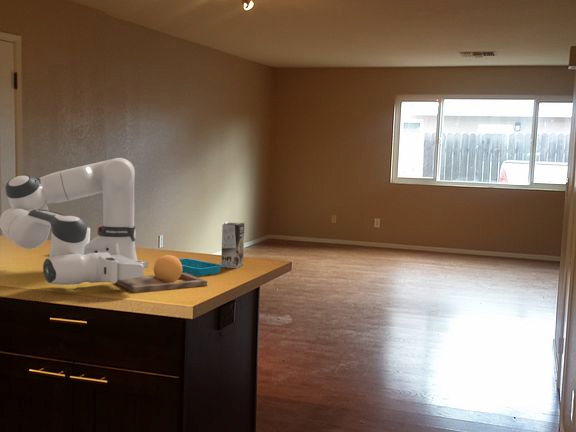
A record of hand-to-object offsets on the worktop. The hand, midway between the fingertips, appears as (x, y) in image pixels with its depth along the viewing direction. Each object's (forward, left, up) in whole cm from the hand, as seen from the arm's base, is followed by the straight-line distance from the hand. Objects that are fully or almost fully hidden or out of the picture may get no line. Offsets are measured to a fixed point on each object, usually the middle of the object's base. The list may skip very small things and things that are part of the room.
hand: (146, 264), depth 196 cm
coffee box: (+26, +39, -7) cm, 47 cm away
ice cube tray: (+12, +28, -7) cm, 31 cm away
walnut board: (+4, +3, -7) cm, 8 cm away
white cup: (-36, +64, -7) cm, 73 cm away
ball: (+6, +5, -2) cm, 8 cm away
